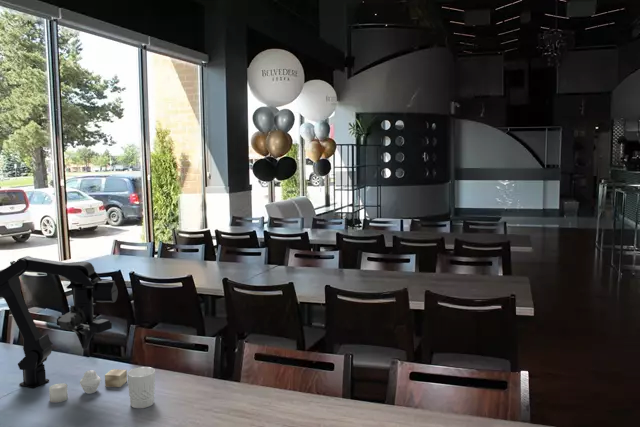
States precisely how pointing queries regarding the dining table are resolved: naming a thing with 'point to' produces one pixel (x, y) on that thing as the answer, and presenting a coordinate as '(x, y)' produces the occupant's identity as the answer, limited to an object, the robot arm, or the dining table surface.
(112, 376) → the maple block
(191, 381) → the dining table surface
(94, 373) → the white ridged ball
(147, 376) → the white cup
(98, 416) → the dining table surface
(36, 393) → the dining table surface
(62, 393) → the white rounded lump
